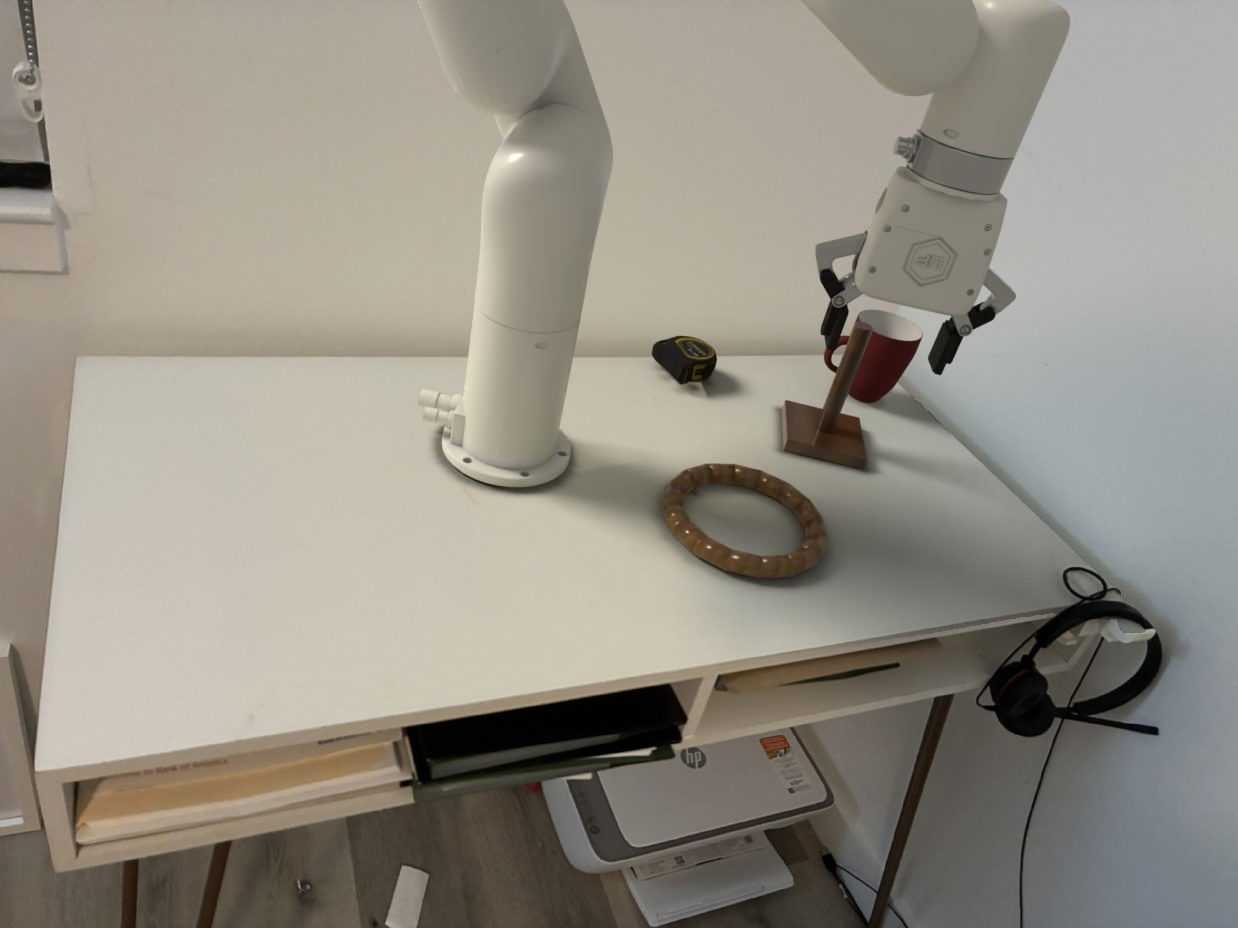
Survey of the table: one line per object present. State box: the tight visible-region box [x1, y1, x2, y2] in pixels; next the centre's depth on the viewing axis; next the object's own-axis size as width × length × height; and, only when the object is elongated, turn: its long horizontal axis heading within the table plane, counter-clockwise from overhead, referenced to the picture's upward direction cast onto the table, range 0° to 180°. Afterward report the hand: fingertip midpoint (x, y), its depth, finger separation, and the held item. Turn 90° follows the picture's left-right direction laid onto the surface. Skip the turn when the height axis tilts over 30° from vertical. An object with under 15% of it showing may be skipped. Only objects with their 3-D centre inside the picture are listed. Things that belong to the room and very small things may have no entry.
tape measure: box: [651, 335, 718, 386], centre depth 110 cm, size 7×7×4 cm
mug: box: [823, 309, 924, 404], centre depth 113 cm, size 11×8×10 cm
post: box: [781, 322, 873, 470], centre depth 101 cm, size 9×9×14 cm
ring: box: [661, 462, 828, 579], centre depth 88 cm, size 16×16×2 cm
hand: (881, 355), depth 82 cm, fingers open, 9 cm apart
